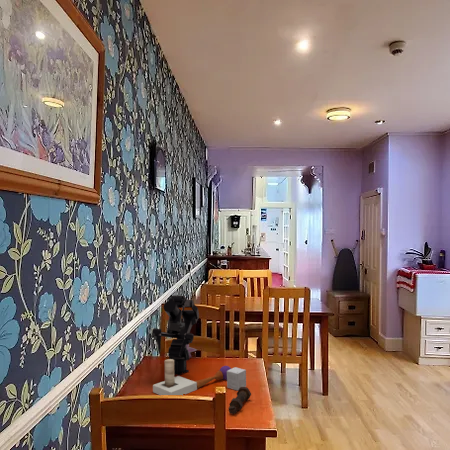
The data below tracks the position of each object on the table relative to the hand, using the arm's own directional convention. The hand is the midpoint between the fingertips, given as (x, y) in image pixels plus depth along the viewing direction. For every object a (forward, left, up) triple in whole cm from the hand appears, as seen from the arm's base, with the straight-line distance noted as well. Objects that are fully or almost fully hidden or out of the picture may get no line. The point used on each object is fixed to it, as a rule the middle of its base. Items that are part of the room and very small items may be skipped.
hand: (169, 354), depth 179 cm
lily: (-27, -22, -13) cm, 37 cm away
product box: (-17, +25, -13) cm, 32 cm away
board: (+3, +8, -13) cm, 15 cm away
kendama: (-14, +13, -13) cm, 23 cm away
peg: (+5, +7, -13) cm, 15 cm away
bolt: (-3, +38, -13) cm, 40 cm away
